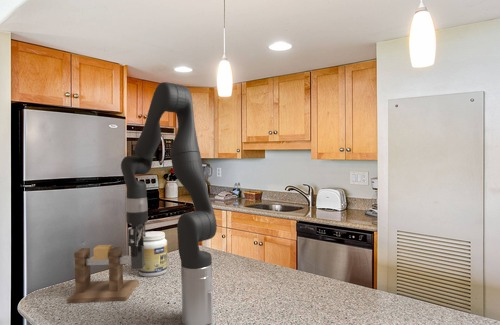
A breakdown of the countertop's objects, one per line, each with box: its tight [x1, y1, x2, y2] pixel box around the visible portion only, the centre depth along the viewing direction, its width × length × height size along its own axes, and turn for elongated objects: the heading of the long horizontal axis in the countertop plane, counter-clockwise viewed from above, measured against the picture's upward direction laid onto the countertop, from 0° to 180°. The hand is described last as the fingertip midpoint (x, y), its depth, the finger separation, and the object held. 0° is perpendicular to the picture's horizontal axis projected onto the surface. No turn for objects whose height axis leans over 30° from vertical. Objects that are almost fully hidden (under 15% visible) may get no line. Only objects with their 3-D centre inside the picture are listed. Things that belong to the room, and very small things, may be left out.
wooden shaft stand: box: [66, 246, 140, 304], centre depth 123 cm, size 20×16×16 cm
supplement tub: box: [137, 230, 169, 278], centre depth 144 cm, size 12×12×17 cm
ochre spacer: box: [92, 244, 113, 260], centre depth 123 cm, size 5×5×4 cm
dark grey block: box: [73, 245, 144, 270], centre depth 124 cm, size 24×3×8 cm, turn 94°
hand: (137, 253), depth 124 cm, fingers open, 8 cm apart
